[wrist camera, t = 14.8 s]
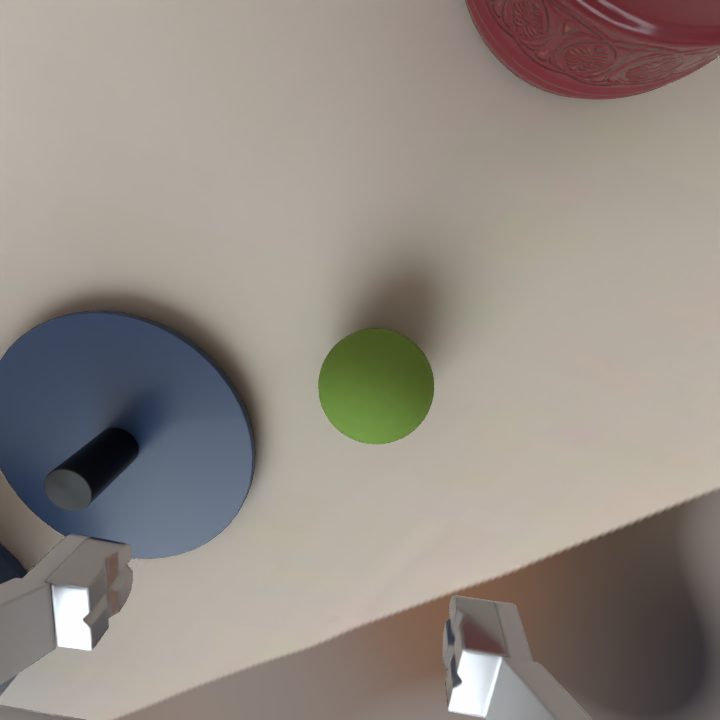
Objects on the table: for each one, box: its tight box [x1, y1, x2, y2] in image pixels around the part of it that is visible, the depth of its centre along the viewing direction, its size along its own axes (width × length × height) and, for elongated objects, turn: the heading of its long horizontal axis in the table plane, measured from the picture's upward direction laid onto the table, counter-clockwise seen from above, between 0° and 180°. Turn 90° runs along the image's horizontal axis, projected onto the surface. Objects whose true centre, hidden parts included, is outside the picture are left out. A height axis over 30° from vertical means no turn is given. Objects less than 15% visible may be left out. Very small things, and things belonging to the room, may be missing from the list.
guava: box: [318, 328, 434, 444], centre depth 23 cm, size 6×6×6 cm
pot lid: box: [0, 311, 255, 559], centre depth 26 cm, size 16×16×6 cm
